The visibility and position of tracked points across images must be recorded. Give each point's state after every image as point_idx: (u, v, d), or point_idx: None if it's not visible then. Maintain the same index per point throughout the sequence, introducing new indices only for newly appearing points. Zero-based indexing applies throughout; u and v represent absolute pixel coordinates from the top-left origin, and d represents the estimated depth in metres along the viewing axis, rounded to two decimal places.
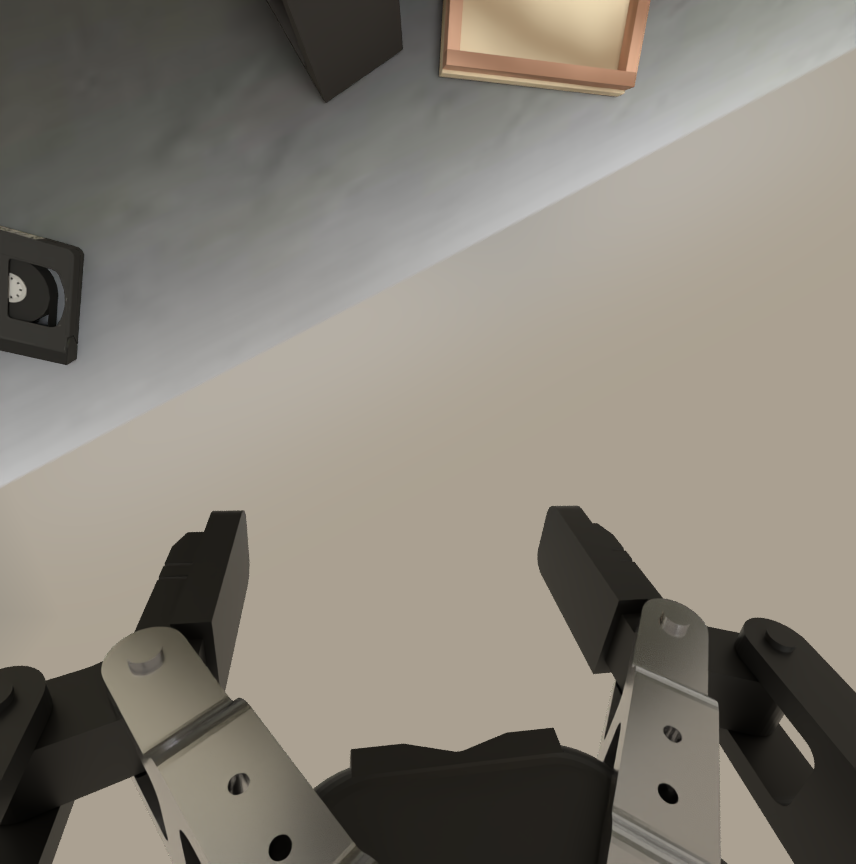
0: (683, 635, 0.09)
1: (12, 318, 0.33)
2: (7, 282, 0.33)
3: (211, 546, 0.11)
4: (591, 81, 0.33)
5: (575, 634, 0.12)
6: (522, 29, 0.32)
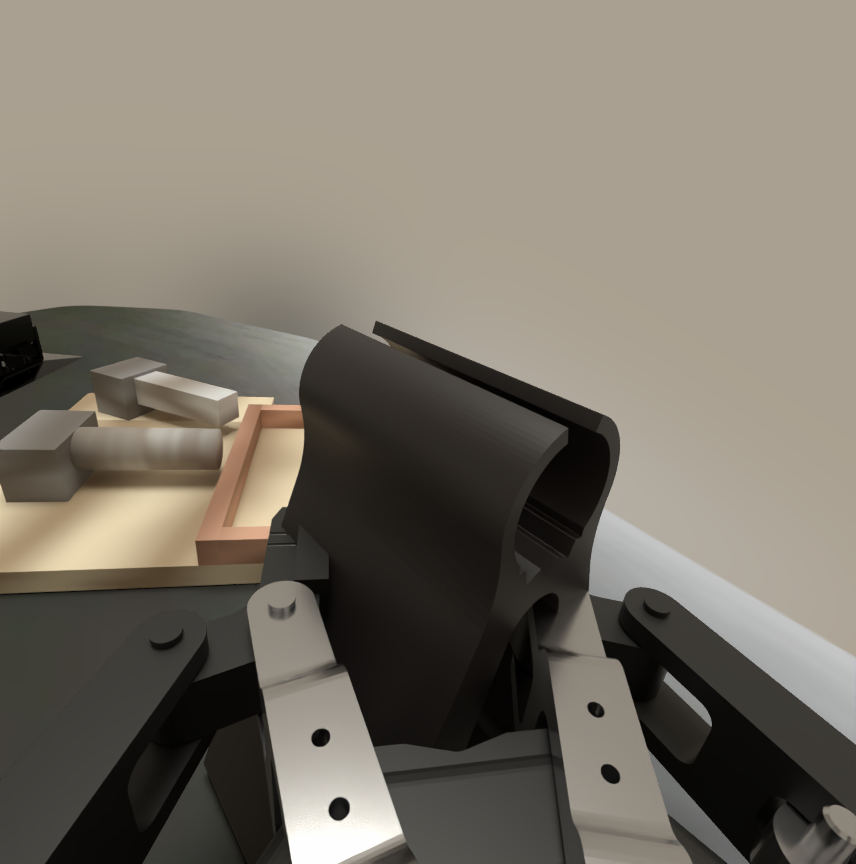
0: None
1: None
2: None
3: None
4: None
5: None
6: None
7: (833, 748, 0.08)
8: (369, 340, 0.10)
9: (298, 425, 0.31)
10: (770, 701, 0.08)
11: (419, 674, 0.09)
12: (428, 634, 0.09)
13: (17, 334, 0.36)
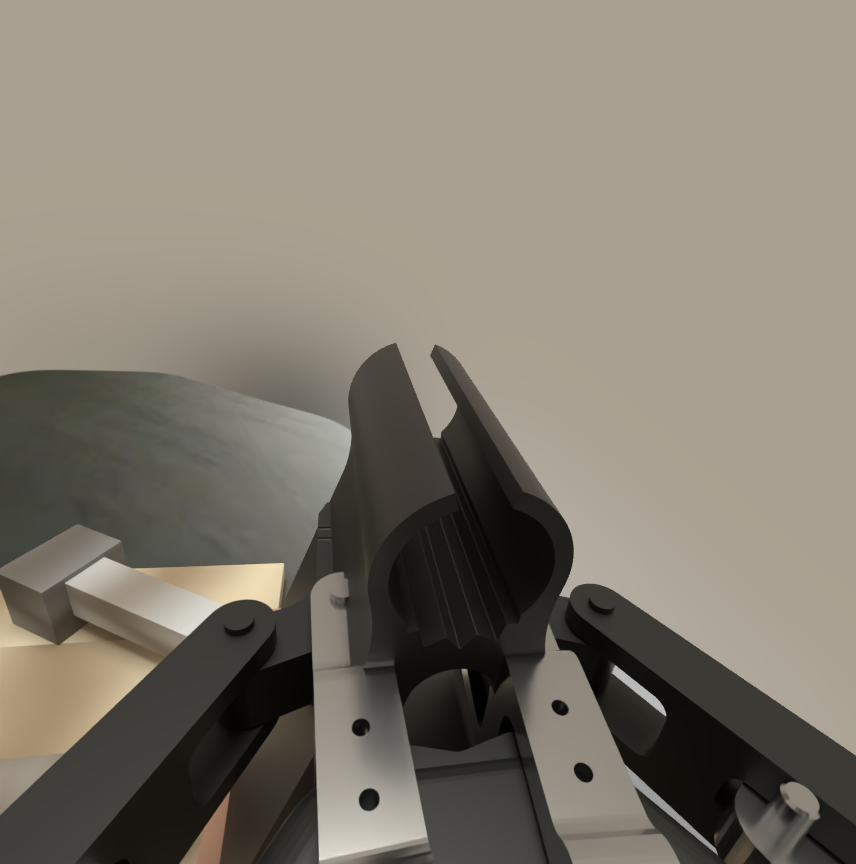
0: None
1: None
2: None
3: None
4: None
5: None
6: None
7: (778, 722, 0.08)
8: (399, 362, 0.10)
9: None
10: (717, 684, 0.09)
11: None
12: None
13: None
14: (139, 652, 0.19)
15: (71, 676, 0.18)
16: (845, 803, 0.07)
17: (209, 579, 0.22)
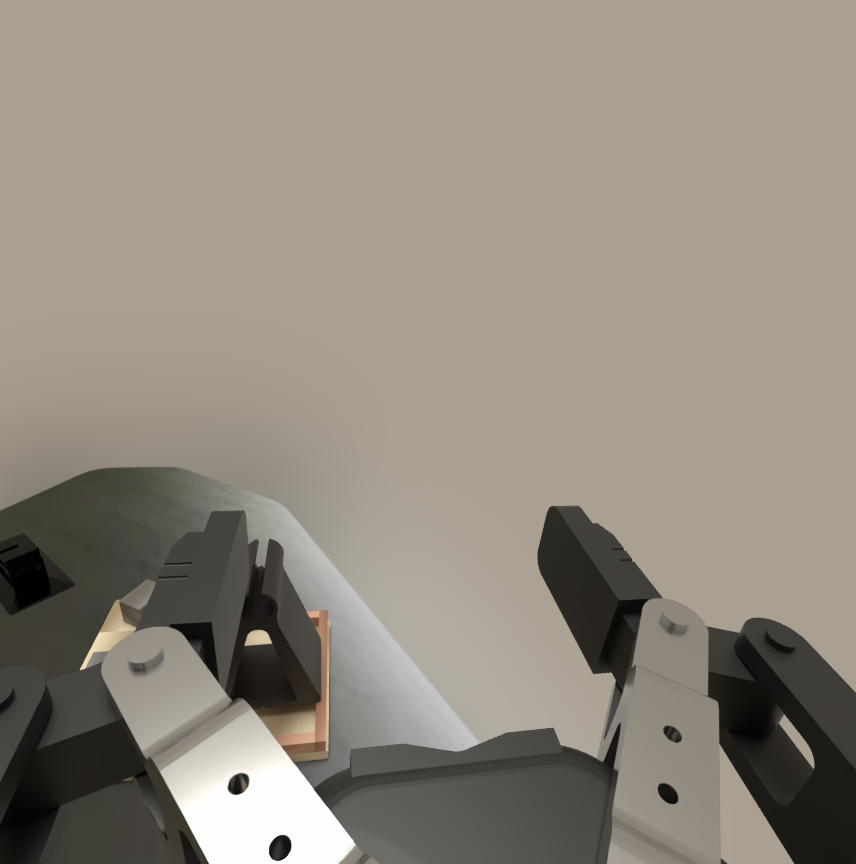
0: (683, 635, 0.09)
1: None
2: None
3: (211, 546, 0.11)
4: (326, 636, 0.47)
5: (575, 634, 0.12)
6: None
7: None
8: (254, 549, 0.39)
9: None
10: None
11: None
12: None
13: None
14: None
15: None
16: None
17: None
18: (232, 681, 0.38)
